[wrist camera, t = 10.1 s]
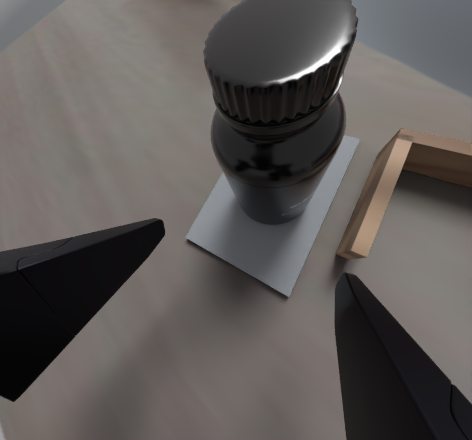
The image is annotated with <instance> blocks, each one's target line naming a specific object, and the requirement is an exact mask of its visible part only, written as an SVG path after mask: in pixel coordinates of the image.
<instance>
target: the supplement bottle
mask: <svg viewBox="0 0 472 440" xmlns="http://www.w3.org/2000/svg"><path fill="white" fill-rule="evenodd" d="M355 14H356V8H355V7H353V6H352V5H351V0H243V1H242V2H241V3H239V4H238V5H236V6H234V7H232V8H231V9H230V11H228V12H227V13H225V14H224V15H223V16H222V17H221V19H220V20H219V21H217V22H216V23H215V25H214V27H213V29H212V30H211V31H210V32H209V37H208V38H207V39H206V41H205V45H206V46H205V48H204V51H203V52H204V62H205V67H206V70H207V74H208V77H209V80H210V83H211V86H212V89H213V98H214V102H215V105H216V107H217V108H216V111H215V113H214V117H213V120H212V125H211V143H212V148H213V151H214V153H215V156H216V158H217V161H218V163H219V165H220V167H221V169H222V171H223V173H224V175H225V177H226V179H227V181H228V183H229V185H230V187H231V189H232V191H233V193H234V195H235V197H236V199H237V201H238V203H239V205H240V207H241V208H242V210H243V211H244V212H245V214H246V215H247V216H249V217H250V218H251V219H253V220H254V221H256V222H259V223H262V224H266V225H280V224H284V223H287V222H289V221H292V220H293V219H295V218H296V217H298V216H299V215H300V214H301V213H302V212H303V211H304V210H305V208H306V207H307V205H308V203H309V202H310V200H311V198H312V196H313V195H314V193H315V191H316V189H317V187H318V185H319V184H320V182H321V180H322V178H323V176H324V175H325V173H326V171H327V169H328V167H329V165H330V164H331V162H332V160H333V158H334V156H335V154H336V152H337V150H338V148H339V146H340V144H341V142H342V139H343V136H344V133H345V128H346V111H345V106H344V102H343V100H342V97H341V95H340V93H339V88H340V86H341V83H342V80H343V74H344V69H345V66H346V63H347V61H348V58H349V55H350V52H351V50H352V47H353V44H354V41H355V38H356V32H357V30H356V28H357V23H358V18H357V17H356V15H355Z"/></svg>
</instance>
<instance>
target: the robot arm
mask: <svg viewBox="0 0 472 440" xmlns="http://www.w3.org/2000/svg"><path fill="white" fill-rule="evenodd" d="M164 235H165V228H164V223H163V221H162V220H161V219H157V218H153V219H149V220H144V221H140V222H136V223H131V224H127V225H123V226H118V227H114V228H110V229H105V230H101V231H97V232H92V233H88V234H84V235H79V236H75V237H70V238H66V239H62V240H57V241H53V242H48V243H43V244H38V245H33V246H28V247H23V248H18V249H12V250H7V251H2V252H0V396H2V397H4V398H6V399H8V400H10V401H12V402H14V401H16V400H17V399H18V398H19V397H20V396H21V395H22V394H23V393H24V392H25V391H26V390H27V388H28V387H29V386H30V385H31V384H32V383H33V382H34V381H35V380H36V379H37V378H38V376H39V375H40V374H41V373H42V372H43V371H44V370H45V369H46V368H47V367H48V366H49V365H50V363H51V362H52V361H53V360H54V359H55V358H56V357H57V356H58V355H59V354H60V353H61V352H62V350H63V349H64V348H65V347H66V346H67V345H68V344H69V343H70V342H71V341H72V340H73V338H74V337H75V335H77V334H78V333H79V332H80V331H81V330H82V328H83V327H84V326H85V325H86V324H87V323H88V322H89V321H90V320H91V319H92V318H93V317H94V315H95V314H96V313H97V312H98V311H99V310H100V309H101V308H102V307H103V306H104V305H105V304H106V302H107V301H108V300H109V299H110V298H111V297H112V296H113V295H114V294H115V293H116V292H117V290H118V289H119V288H120V287H121V286H122V285H123V284H124V283H125V282H126V281H127V280H128V279H129V277H130V276H131V275H132V274H133V273H134V272H135V271H136V270H137V269H138V268H139V267H140V266H141V264H142V263H143V262H144V261H145V260H146V259H147V258H148V257H149V255H150V254H151V253H152V251H153V250H154V249H155V248H156V246H157V245H158V244H159V242H160V241H161V240H162V238H163V237H164ZM335 336H336V346H337V355H338V364H339V374H340V383H341V393H342V402H343V411H344V421H345V430H346V439H347V440H472V404H471V403H470V402H469V401H468V400H467V398H466V397H465V396H464V395H463V394H462V393H461V392H460V391H459V390H458V388H457V387H456V386H455V385H453V384H451V381H450V380H449V378H448V377H447V376H446V375H445V374H444V373H443V372H442V371H441V370H440V368H439V367H438V366H437V365H436V364H435V363H434V362H433V361H432V359H431V358H430V357H429V356H428V355H427V354H426V353H425V352H424V351H423V349H422V348H421V347H420V346H419V345H418V344H417V343H416V342H415V340H414V339H413V338H412V337H411V336H410V335H409V334H408V333H407V332H406V330H405V329H404V328H403V327H402V326H401V325H400V324H399V323H398V321H397V320H396V319H395V318H394V317H393V316H392V315H391V314H390V313H389V311H388V310H387V309H386V308H385V307H384V306H383V305H382V304H381V303H380V301H379V300H378V299H377V298H376V297H375V296H374V295H373V294H372V292H371V291H370V290H369V289H368V288H367V287H366V286H365V285H364V284H363V282H362V281H361V280H360V279H359V278H358V277H357V276H356V275H354V274H350V273H347V272H344V273H343V274H342V276H341V277H340V279H339V281H338V283H337V285H336V288H335Z"/></svg>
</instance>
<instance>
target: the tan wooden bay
mask: <svg viewBox="0 0 472 440" xmlns="http://www.w3.org/2000/svg"><path fill="white" fill-rule="evenodd" d="M402 169H404V170H407V171H411V172H415V173H418V174H422V175H426V176H429V177H433V178H436V179H440V180H444V181H447V182H451V183H455V184H458V185H462V186H466V187H469V188H472V143H470V142H465V141H460V140H456V139H451V138H446V137H441V136H437V135H432V134H427V133H422V132H417V131H413V130H408V129H403V128H401V129H400V130H399V131H398V132H397V133H396V134H395V136H394V137H393V138H392V139H391V140H390V141H389V142H388V143H387V144H386V145H385V147H384V148H383V149H382V150H381V151H380V152H379V154H378V156H377V158H376V161H375V163H374V165H373V168H372V170H371V172H370V175H369V177H368V179H367V182H366V184H365V186H364V189H363V191H362V194H361V196H360V198H359V201H358V203H357V205H356V208H355V210H354V212H353V215H352V217H351V219H350V222H349V224H348V226H347V229H346V231H345V234H344V236H343V238H342V241H341V243H340V245H339V248H338V250H337V252H336V254H337V255H339V256H342V257H344V258H346V259H348V260H349V259H357V258H366V257H367V256H368V253H369V251H370V248H371V246H372V243H373V241H374V238H375V236H376V233H377V230H378V228H379V225H380V223H381V220H382V218H383V215H384V213H385V210H386V208H387V205H388V203H389V200H390V198H391V195H392V192H393V190H394V187H395V185H396V182H397V180H398V177H399V175H400V172H401V170H402Z"/></svg>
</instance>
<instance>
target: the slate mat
mask: <svg viewBox="0 0 472 440" xmlns="http://www.w3.org/2000/svg"><path fill="white" fill-rule="evenodd" d="M359 141H360V139H357V138H353V137H349V136H345V135H344V136H343V139H342V142H341V144H340V146H339V148H338V150H337V152H336V154H335V156H334V158H333V160H332V162H331V164H330V165H329V167H328V169H327V171H326V173H325V175H324V176H323V178H322V180H321V182H320V184H319V185H318V187H317V189H316V191H315V193H314V195H313V196H312V198H311V200H310V202H309V203H308V205H307V207H306V208H305V210H304V211H303V212H302V213H301V214H300V215H299V216H298V217H296V218H295V219H293V220H292V221H289V222H287V223H284V224H280V225H266V224H262V223H259V222H256V221H254V220H253V219H251V218H250V217H249V216H247V215H246V214H245V212H244V211H243V210H242V208H241V207H240V205H239V203H238V201H237V199H236V197H235V195H234V193H233V191H232V189H231V187H230V185H229V183H228V181H227V179H226V177H225V175H224V173H222V175H221V176H220V178H219V180H218V182H217V183H216V185H215V187H214V189H213V190H212V192H211V194H210V196H209V197H208V199H207V201H206V203H205V204H204V206H203V208H202V209H201V211H200V213H199V215H198V216H197V218H196V220H195V222H194V223H193V225H192V227H191V229H190V230H189V232H188V234H187V236H186V237H185V238H187V239H189V240H190V241H192V242H194V243H196V244H197V245H199V246H201V247H203V248H204V249H206V250H208V251H210V252H211V253H213V254H215V255H216V256H218V257H220V258H222V259H223V260H225V261H227V262H229V263H230V264H232V265H234V266H236V267H237V268H239V269H241V270H243V271H244V272H246V273H248V274H250V275H251V276H253V277H255V278H257V279H258V280H260V281H262V282H263V283H265V284H267V285H269V286H270V287H272V288H274V289H276V290H277V291H279V292H281V293H283V294H284V295H286V296H288V297H289V296H290V294H291V291H292V289H293V287H294V285H295V283H296V280H297V278H298V276H299V274H300V271H301V269H302V267H303V265H304V263H305V260H306V258H307V256H308V254H309V252H310V249H311V247H312V245H313V243H314V240H315V238H316V236H317V234H318V232H319V229H320V227H321V225H322V223H323V220H324V218H325V216H326V214H327V212H328V209H329V207H330V205H331V203H332V200H333V198H334V196H335V194H336V192H337V189H338V187H339V185H340V183H341V180H342V178H343V176H344V174H345V172H346V169H347V167H348V165H349V163H350V161H351V158H352V156H353V154H354V152H355V149H356V147H357V145H358V143H359Z"/></svg>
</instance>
